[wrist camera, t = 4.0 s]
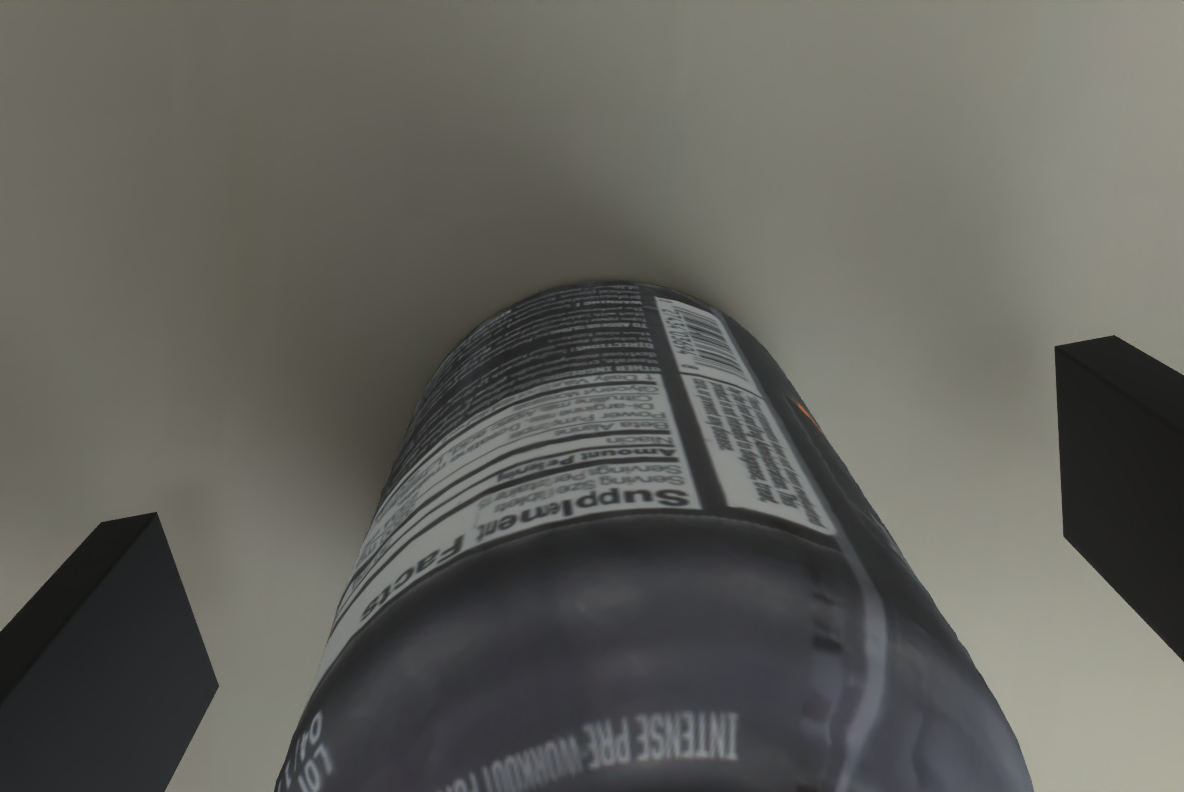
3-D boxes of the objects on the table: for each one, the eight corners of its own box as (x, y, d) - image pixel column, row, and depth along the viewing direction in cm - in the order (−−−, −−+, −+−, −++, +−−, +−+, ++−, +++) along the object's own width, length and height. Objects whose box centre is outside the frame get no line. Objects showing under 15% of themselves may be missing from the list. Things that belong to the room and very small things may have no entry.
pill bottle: (781, 651, 17) (1141, 1700, 6) (404, 634, 17) (130, 1701, 6) (832, 283, 15) (1473, 916, 4) (407, 258, 15) (16, 869, 4)
